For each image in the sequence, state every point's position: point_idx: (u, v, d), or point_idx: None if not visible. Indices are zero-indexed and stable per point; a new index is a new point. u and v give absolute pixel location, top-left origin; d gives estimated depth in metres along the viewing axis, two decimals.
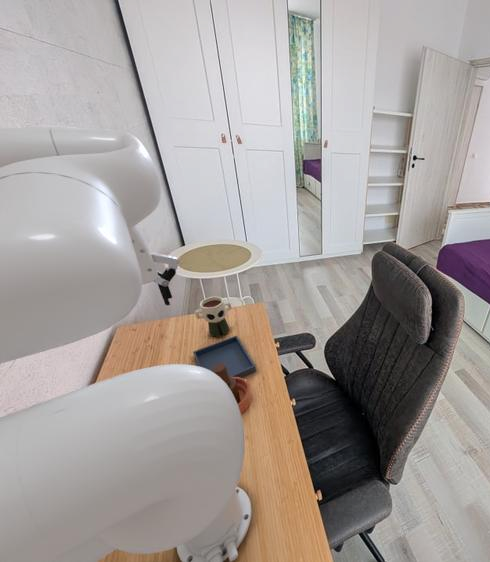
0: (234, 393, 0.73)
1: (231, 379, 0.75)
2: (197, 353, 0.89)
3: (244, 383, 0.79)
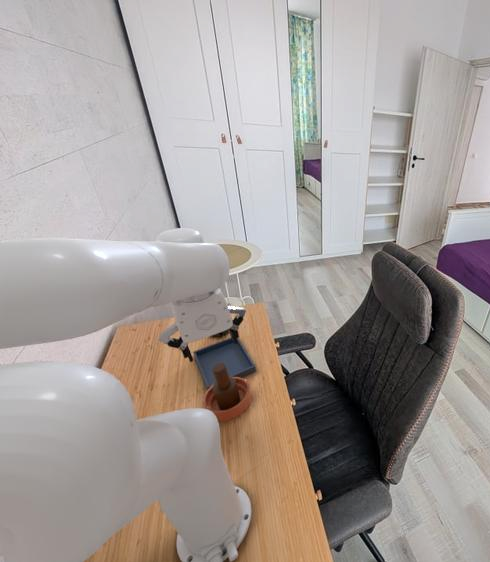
0: (234, 393, 0.73)
1: (231, 379, 0.75)
2: (197, 353, 0.89)
3: (244, 383, 0.79)
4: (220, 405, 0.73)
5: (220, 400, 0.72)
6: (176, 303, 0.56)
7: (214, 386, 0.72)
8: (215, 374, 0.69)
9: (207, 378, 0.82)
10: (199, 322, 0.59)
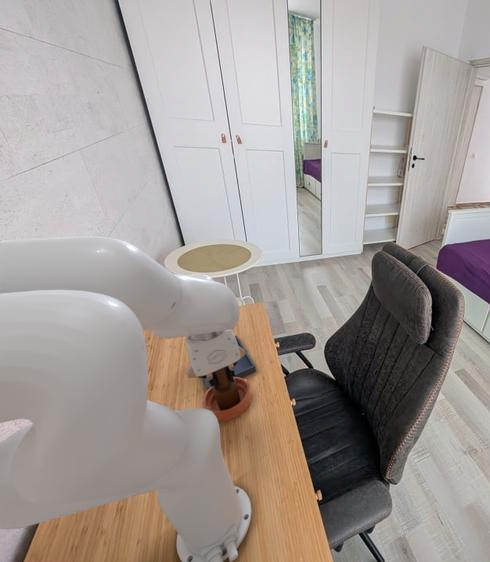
0: (234, 393, 0.73)
1: None
2: None
3: (244, 383, 0.79)
4: (220, 405, 0.73)
5: (220, 400, 0.72)
6: (190, 341, 0.61)
7: None
8: (215, 374, 0.69)
9: None
10: (210, 357, 0.64)
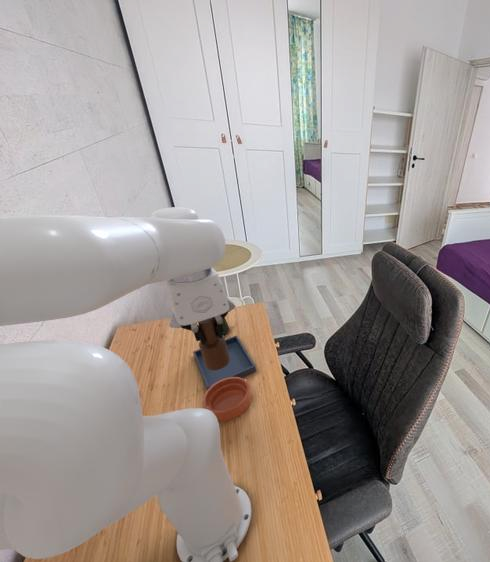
0: (222, 350, 0.68)
1: None
2: (197, 353, 0.89)
3: (244, 383, 0.79)
4: (207, 363, 0.67)
5: (207, 357, 0.66)
6: (171, 283, 0.55)
7: None
8: (201, 326, 0.63)
9: (207, 378, 0.82)
10: (195, 304, 0.58)
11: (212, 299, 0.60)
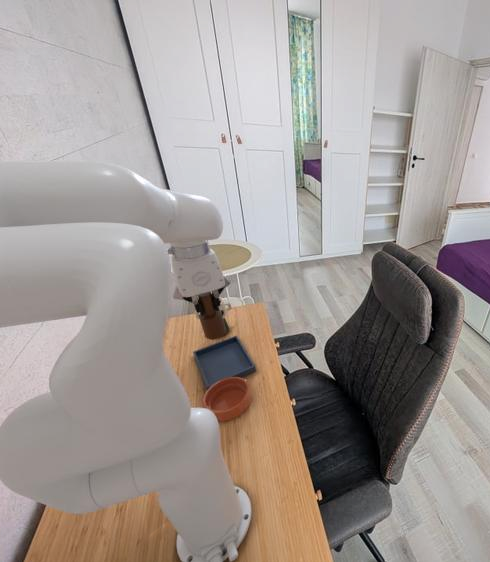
0: (219, 322, 0.77)
1: None
2: (197, 353, 0.89)
3: (244, 383, 0.79)
4: (206, 333, 0.77)
5: (206, 327, 0.76)
6: (175, 260, 0.65)
7: (200, 314, 0.76)
8: (200, 299, 0.73)
9: (207, 378, 0.82)
10: (195, 278, 0.68)
11: (210, 275, 0.70)
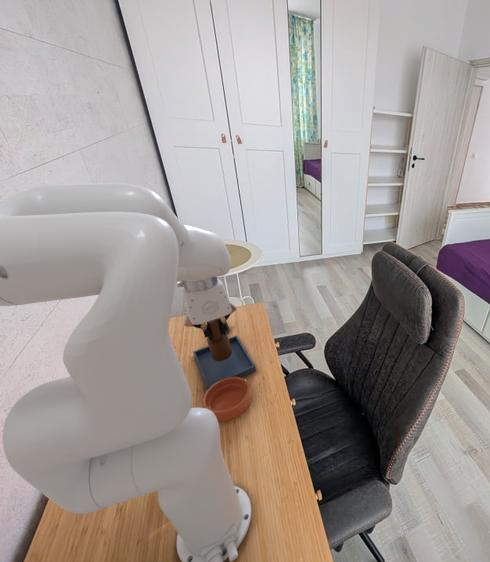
0: (226, 345, 0.83)
1: None
2: (197, 353, 0.89)
3: (244, 383, 0.79)
4: (213, 355, 0.83)
5: (214, 350, 0.82)
6: (186, 292, 0.70)
7: (208, 338, 0.82)
8: (209, 325, 0.78)
9: (207, 378, 0.82)
10: (204, 308, 0.74)
11: (218, 303, 0.75)
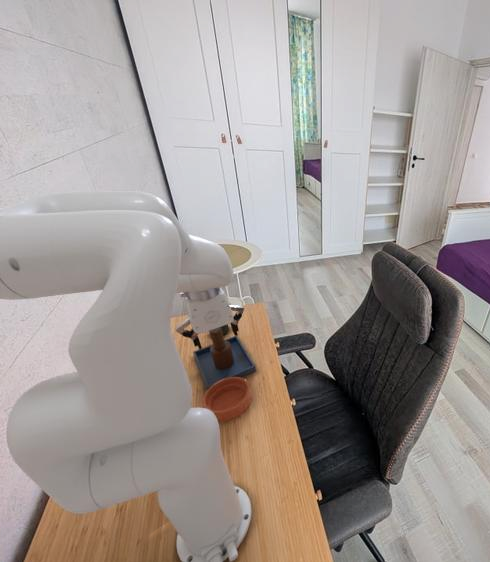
0: (228, 354, 0.85)
1: (226, 342, 0.86)
2: (197, 353, 0.89)
3: (244, 383, 0.79)
4: (216, 364, 0.84)
5: (216, 359, 0.83)
6: (189, 301, 0.72)
7: (211, 347, 0.84)
8: (212, 335, 0.80)
9: (207, 378, 0.82)
10: (207, 317, 0.75)
11: (220, 312, 0.77)
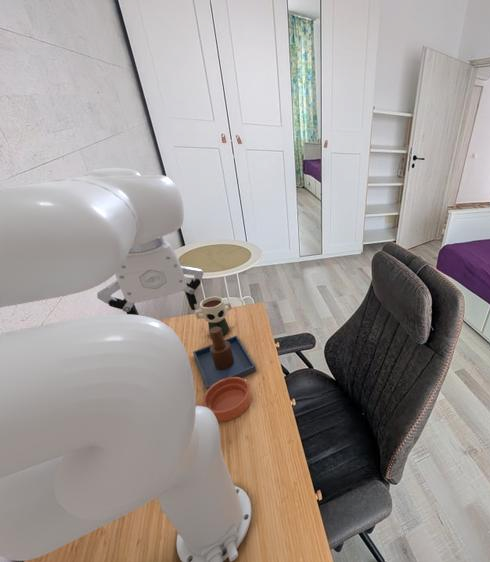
0: (228, 354, 0.85)
1: (226, 342, 0.86)
2: (197, 353, 0.89)
3: (244, 383, 0.79)
4: (216, 364, 0.84)
5: (216, 359, 0.83)
6: None
7: (211, 347, 0.84)
8: (212, 335, 0.80)
9: (207, 378, 0.82)
10: (144, 279, 0.53)
11: (165, 274, 0.55)
